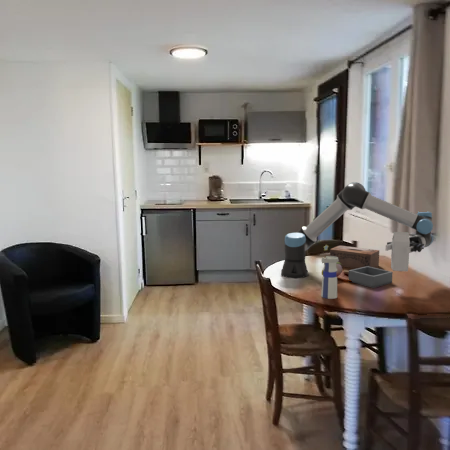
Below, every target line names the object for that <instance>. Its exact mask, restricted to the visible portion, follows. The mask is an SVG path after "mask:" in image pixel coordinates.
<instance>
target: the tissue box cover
mask: <svg viewBox="0 0 450 450" xmlns="http://www.w3.org/2000/svg"><path fill="white" fill-rule="evenodd" d="M329 256H335V257H338V259H339V261H338V262H339V263H341V264H340V265H341V266H342V268H343V267H344V268H351V269H357V268H362V267H366V266H369V267H373V268H378V267H379V266H380V249H372V248H362V247H356V246H355V247H354V246H346V245H337V246H334V247H332V248H330V249H329Z"/></svg>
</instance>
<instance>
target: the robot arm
mask: <svg viewBox="0 0 450 450" xmlns="http://www.w3.org/2000/svg"><path fill="white" fill-rule="evenodd" d="M355 208H357V209H358V208H359V209H361V210H369V212H373V213H375V214H377V215H379V216H381V217H384V218H386V219H389V220H391V221H393V222H396V223H399V224H401V225H403V226H406V227H408V228H410V229H413V230H415V235H412V236H409V240H410V246H409V247H408V248H406V254H408V253H409V254H411V253H413V252H415V253H416V252H418V253H421V252H422V250H424V248H428V247H429V246H430V245H432V244H433V242H434V237H433V235H432V230H433V228H434V223H433V213H432V212H431V211H427V212H419V211H417V212H418V213H417V212H416V213H414V212H412V211H410V210H408V209H405V208H403V207H400V206H398V205H395V204H393V203H392V202H391V203H390V202H388V201H386V200H383V199H381V198H378V197H376V196H374V195H372V194H371V192H369V191H367V190H366V188H365V186H364V185H363V184H361V183H360V182H355V181H353V182H350V183H349V184H347V185H345V187H343V188H342V190H341V191H340V192H339V193H338V194H337V195H336V199H335V200H334V201H332V202H331V204H329V206H328V207H327V208H325V210H323V211H322V212H321V213H320V214H319V215H318V216H317V217H315V218H314V219H313V220H312V221H311V222H310V223H309V224H308V225H306V226H302V227H300V229H298V230H297V231H296V232H290V233H287V234H285V236H284V261H283V265H282V269H281V271H280V272H281V273H280V275H281V276H282V277H285V278H290V279H291V278H292V279H301V278H302V279H303V278H307V277H308V276H309V272H308V268H307V267H308V266H307V263H306V251H307V250H309V249H310V247H312V246H313V245H314V244H315V243H316V242H317V237H319V236H320V235H321V234H322V233H324V231H326V230H327V229H328V228H329V227H331V225H332V224H334V222H336V221H337V220H339V219H340V217H341V216H342V215H344V214H345V213H346V212H347V211H352V210H353V209H355ZM390 250H391V251H392V241H387V242H386V245H385V251H390Z"/></svg>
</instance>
